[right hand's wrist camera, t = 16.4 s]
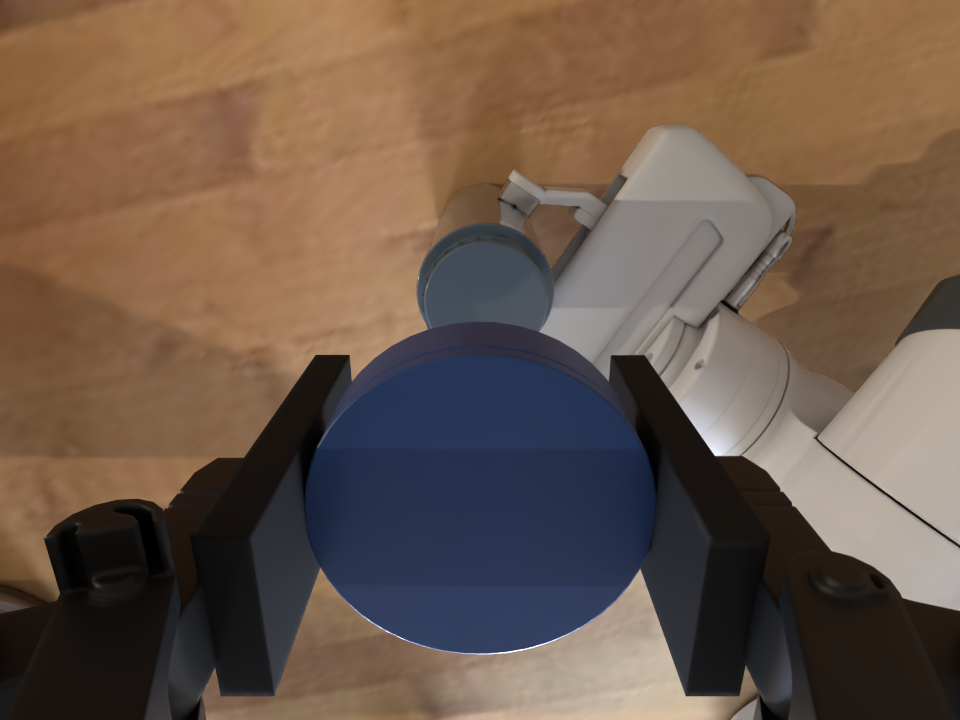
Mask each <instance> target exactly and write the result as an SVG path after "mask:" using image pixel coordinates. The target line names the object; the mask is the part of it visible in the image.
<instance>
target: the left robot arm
mask: <svg viewBox="0 0 960 720" xmlns="http://www.w3.org/2000/svg"><path fill="white" fill-rule="evenodd" d="M498 197H499V198H501V199H502V200H503V201H505V202H506V203H509V204H511V205H516V208H517V209H518V210H519V211H520V212H521V213H523V214H524V215H526V216H527V217H529V216H530V215H531V213H532V212H533V210H534V209H535V207H536V206H537V204H538V203H539V204H548V205H565V206H570V207H569V209H568V213H569V214H570V215H571V216H572V217H573V218H574V219H576V220H577V221H579V222H580V223H581V224H582V226H581V227H580V229H579V230H578V231H577V233H576V234H575V236H574V237H573V239H572V240H571V242H570V243H569V244H568V246H567V247H566V249H565V250H564V252H563V253H562V255H561V256H560V257H559V259H558V260H557V262H556V263H555V265H554V266H553V267H552V269H551V270H552V273H553V278H554V289H555V292H554V301H553V306H552V309H551V312H550V315H549V317H548V319H547V321H546V323H545V325H544V326H543V328H542V329H541V330H540V332H541V333H543V334H546V335H548V336H550V337H553V338H555V339H557V340H559V341H561V342H562V343H564V344H566V345H567V346H569V347H571V348H573V349H574V350H576V351H577V352H578V353H580V354H581V355H582V356H583V357H585V358H586V359H587V360H588V361H590V362H591V363H592V364H593V365H594V366H595V367H596V368H597V369H598V370H599V371H600V372H601V373H602V374H603V375H604V376H605V378H606V379H607V380H608V382H609V373H610V360H611V355H645V356H646V358H647V359H648V361H649V362H650V363H651V365H652V366H653V368H654V369H655V371H656V372H657V373H658V375H659V376H660V378H661V379H662V381H663V382H664V383H665V385H666V386H667V388H668V389H669V391H670V392H671V394H672V395H673V396H674V398H675V399H676V401H677V402H678V404H679V405H680V406H681V408H682V409H683V411H684V412H685V414H686V415H687V416H688V418H689V419H690V421H691V422H692V424H693V425H694V426H695V428H696V429H697V431H698V432H699V434H700V435H701V437H702V438H703V439H704V441H705V442H706V444H707V445H708V447H709V448H710V449H711V451H712V452H713V454H714V455H715V456H744V457H745V458H747V459H748V460H750V461H752V462H753V463H755V464H756V465H758V466H759V467H761V468H763V469H764V470H766V471H767V472H768V474H769V475H770V476H771V477H772V478H773V480H774V481H775V482H776V483H777V485H778V486H779V487H780V491H781V492H784V493H785V494H786V496H787V497H788V498H789V499H790V501H791V502H792V506H795V507H796V508H797V509H798V510H799V512H800V513H801V514H802V515H803V517H804V518H805V519H806V520H807V521H808V523H809V524H810V525H811V526H812V528H813V529H814V530H815V531H816V533H817V534H818V535H819V536H820V537H821V539H822V540H823V541H824V542H825V544H826V545H827V546H828V547H829V548H830V550H831V551H834V552H837V553H841V554H845V555H849V556H852V557H854V558H856V559H859V560H861V561H863V562H865V563H867V564H869V565H871V566H873V567H874V568H876V569H877V570H878V571H880V572H881V573H882V574H884V575H885V576H886V577H888V578H889V579H890V580H891V581H892V583H893V584H894V585H895V587H896V588H897V589H898V591H899V592H900V594H901V596H902V598H905V599H908V600H912V601H916V602H920V603H925V604H930V605H935V606H939V607H944V608H949V609H953V610H958V611H960V274H959V275H956V276H953V277H950V278H946V279H944V280H942V281H940V282H939V283H938V284H937V285H936V287H935V288H934V289H933V291H932V292H931V294H930V295H929V296H928V298H927V299H926V300H925V302H924V303H923V305H922V306H921V307H920V309H919V310H918V312H917V313H916V314H915V316H914V317H913V319H912V320H911V321H910V323H909V324H908V325H907V327H906V328H905V330H904V331H903V332H902V334H901V335H900V337H899V338H898V340H897V341H896V343H895V348H894V349H893V350H892V351H891V353H890V354H889V355H888V356H887V357H886V358H885V360H884V361H883V362H882V363H881V364H880V365H879V366H878V368H877V369H876V370H875V371H874V372H873V373H872V375H871V376H870V377H869V378H868V379H867V380H866V382H865V383H864V384H863V385H862V386H861V387H860V389H859V390H858V391H857V392H856V393H853V392H852V391H851V390H849V389H848V388H846V387H845V386H844V385H842V384H841V383H839V382H838V381H836V380H834V379H832V378H830V377H828V376H826V375H823V374H820V373H816V372H812V371H809V370H807V369H805V368H804V367H803V366H801V365H800V364H799V363H798V362H797V360H796V359H795V357H794V356H793V355H792V354H791V352H790V351H789V350H788V349H787V348H786V347H785V346H784V345H783V344H782V343H780V342H779V341H778V340H776V339H775V338H773V337H772V336H770V335H769V334H767V333H766V332H765V331H763V330H762V329H760V328H759V327H757V326H756V325H754V324H753V323H751V322H750V321H748V320H747V319H745V318H744V317H742V316H741V315H739V314H738V311H739V310H740V308H741V307H742V306H743V305H744V303H745V302H746V301H747V300H748V299H749V297H750V296H751V295H752V294H753V292H754V291H755V290H756V289H757V287H758V286H759V284H760V282H761V281H762V280H763V277H765V275H766V273H767V272H768V271H769V270H770V268H771V267H772V266H773V265H774V264H775V263H776V261H777V262H778V261H779V260H780V259H781V258H782V257H783V256H784V255H785V254H786V252H787V251H788V249H789V248H790V246H791V244H792V242H793V238H792V237H791V236H790V235H791V233H792V231H793V229H794V226H795V222H796V208H795V204H794V202H793V200H792V198H791V197H790V196H789V195H788V193H786V192H785V191H784V190H782V189H781V188H780V187H778V186H777V185H776V184H774V183H773V182H772V181H770V180H769V179H768V178H766V177H764V176H761V175H757V174H744V173H743V172H742V171H741V170H740V169H739V168H738V166H737V165H736V164H735V163H734V162H733V161H732V160H731V159H730V158H729V157H728V156H727V155H726V154H724V153H723V152H722V151H721V150H720V149H719V148H718V147H717V146H716V145H715V144H713V143H712V142H711V141H710V140H709V139H708V138H706V137H705V136H704V135H703V134H701V133H700V132H699V131H698V130H696V129H695V128H693V127H691V126H689V125H686V124H682V123H671V124H665V125H660V126H655V127H652V128H650V129H649V130H648V131H647V132H646V134H645V135H644V136H643V138H642V139H641V141H640V142H639V144H638V145H637V147H636V148H635V149H634V151H633V152H632V154H631V155H630V157H629V158H628V159H627V161H626V162H625V164H624V165H623V167H622V168H621V170H620V171H619V172H618V174H617V175H616V177H615V178H614V180H613V181H612V183H611V184H610V185H609V187H608V188H607V190H606V191H605V193H604V194H603V195H602V197H601V198H600V200H599V199H598V198H596V197H595V196H593V195H592V194H590V193H589V192H587V191H586V190H584V189H583V188H575V187H553V186H544V187H543V188H542V187H540V186H539V185H537V184H536V183H534V182H533V181H531V180H530V179H529V178H527V177H526V176H524V175H523V174H521V173H520V172H518V171H516V170H515V169H513V171H512V172H511V174H510V175H509V177H508V178H507V180H506V182H505V183H504V185H503V187H502V188H501V190H500V192H499V193H498ZM785 223H786V226H785V228H784V230H783V231H782V230H780V229H781V228H782V227H783V225H784V224H785ZM721 300H722V301H721ZM756 703H757V699H755V700H754V701H752V702H750V703H749V704H747V705H746V706H745V707H743V708H742V709H741V710H740V711H739V712H737V713H736V714H735V715H734V716H733V717H732V719H731V720H753V717H754V712H755V708H756Z"/></svg>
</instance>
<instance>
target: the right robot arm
mask: <svg viewBox="0 0 960 720" xmlns="http://www.w3.org/2000/svg"><path fill="white" fill-rule="evenodd" d="M351 383H352V380H351V368H350V355H315V357H314V358H313V360H312V361H311V363H310V364H309V365H308V367H307V368H306V370H305V371H304V373H303V374H302V375H301V377H300V378H299V380H298V381H297V383H296V384H295V385H294V387H293V388H292V390H291V391H290V393H289V394H288V396H287V397H286V398H285V400H284V401H283V403H282V404H281V406H280V407H279V408H278V410H277V411H276V413H275V414H274V416H273V417H272V418H271V420H270V421H269V423H268V424H267V426H266V427H265V429H264V430H263V431H262V433H261V434H260V436H259V437H258V439H257V440H256V441H255V443H254V444H253V446H252V447H251V449H250V450H249V451H248V453H247V454H246V456H245V457H244V458H217V459H216V460H214V461H212V462H211V463H209V464H208V465H206V466H205V467H203V468H201V469H200V470H198V471H197V472H195V473H194V474H193V475H192V477H191V478H190V479H189V480H188V482H187V483H186V484H185V485H184V487H183V488H182V489H181V490H180V491H181V492H180V494H177V495H176V496H175V498H174V499H173V500H172V501H171V503H170V504H169V508H166V509H165V510H164V511H163V509H162V508H160V507H159V506H158V505H157V504H155V503H154V502H151V501H146V500H141V499H126V500H115V501H111V502H106V503H102V504H98V505H94V506H92V507H89V508H87V509H84V510H82V511H80V512H77V513H75V514H73V515H71V516H70V517H68V518H66V519H65V520H63V521H62V522H60V523H59V524H57V525H56V526H55V527H54V528H53V529H52V530H51V531H50V532H49V533H48V535H47V536H46V537H45V538H44V540H45V544H46V547H47V551H48V554H49V557H50V561H51V564H52V568H53V571H54V574H55V578H56V581H57V584H58V588H59V591H60V595H59V597H58V600H57V601H55V602H51V603H48V604H45V603H43V602H41V601H40V600H38V599H36V598H34V597H32V596H29V595H27V594H24V593H22V592H19V591H16V590H13V589H10V588H6V587H2V586H0V720H206V715H205V708H204V703H203V698H202V693H203V691H204V689H205V687H206V685H207V683H208V681H209V679H210V676H211V674H212V672H213V670H214V668H216V673H217V678H218V683H219V688H220V693H221V696H275V693H276V690H277V687H278V685H279V682H280V679H281V676H282V673H283V671H284V668H285V665H286V662H287V659H288V657H289V654H290V651H291V648H292V645H293V643H294V640H295V637H296V634H297V631H298V629H299V626H300V623H301V620H302V617H303V615H304V612H305V609H306V606H307V603H308V600H309V598H310V595H311V592H312V589H313V586H314V584H315V581H316V578H317V575H318V572H319V570H320V566H319V564H318V562H317V559H316V557H315V555H314V552H313V550H312V547H311V545H310V541H309V537H308V530H307V522H306V513H305V504H304V495H305V484H306V479H307V475H308V471H309V466H310V463H311V461H312V458H313V456H314V453H315V451H316V448H317V446H318V444H319V442H320V440H321V438H322V436H323V434H324V432H325V430H326V428H327V426H328V424H329V422H330V420H331V418H332V416H333V414H334V412H335V410H336V408H337V406H338V404H339V402H340V400H341V398H342V397H343V395H344V393H345V392H346V390H347V388H348V387H349V385H350V384H351ZM609 383H610V384H611V386H612V387H613V389H614V390H615V392H616V393H617V395H618V397H619V399H620V401H621V403H622V405H623V407H624V409H625V410H626V412H627V414H628V416H629V418H630V420H631V422H632V424H633V426H634V428H635V430H636V432H637V434H638V436H639V438H640V440H641V442H642V444H643V446H644V448H645V450H646V452H647V455H648V458H649V461H650V464H651V467H652V470H653V473H654V479H655V485H656V491H657V498H656V508H655V517H654V525H653V534H652V540H651V544H650V547H649V550H648V553H647V555H646V557H645V559H644V561H643V563H642V565H641V567H640V569H641V571H642V574H643V577H644V580H645V583H646V585H647V588H648V591H649V594H650V597H651V599H652V602H653V605H654V608H655V611H656V613H657V616H658V619H659V622H660V625H661V627H662V630H663V633H664V636H665V639H666V641H667V644H668V647H669V650H670V653H671V656H672V658H673V661H674V664H675V667H676V670H677V672H678V675H679V678H680V681H681V684H682V686H683V689H684V692H685V695H686V696H739V695H740V690H741V685H742V680H743V675H744V670H745V665H746V666H747V668H748V670H749V672H750V675H751V677H752V679H753V681H754V683H755V685H756V687H757V689H758V691H759V693H758V698H757V703H756V708H755V712H754V717H753V720H960V611H958V610H953V609H949V608H944V607H939V606H935V605H930V604H925V603H920V602H916V601H912V600H908V599H905V598H902V596H901V594H900V592H899V591H898V589H897V588H896V587H895V585H894V584H893V583H892V581H891V580H890V579H889V578H888V577H886V576H885V575H884V574H882V573H881V572H880V571H878V570H877V569H876V568H874V567H873V566H871V565H869V564H867V563H865V562H863V561H861V560H859V559H856V558H854V557H852V556H849V555H845V554H841V553H837V552H834V551H831V550H830V548H829V547H828V546H827V545H826V544H825V542H824V541H823V540H822V539H821V537H820V536H819V535H818V534H817V533H816V531H815V530H814V529H813V528H812V526H811V525H810V524H809V523H808V521H807V520H806V519H805V518H804V517H803V515H802V514H801V513H800V512H799V510H798V509H797V508H796V507H795V506H792V502H791V501H790V499H789V498H788V497H787V496H786V494H785V493H784V492H781V491H780V487H779V486H778V485H777V483H776V482H775V481H774V480H773V478H772V477H771V476H770V475H769V474H768V472H767V471H766V470H764V469H763V468H761V467H759V466H758V465H756V464H755V463H753V462H752V461H750V460H748V459H747V458H745V457H744V456H715V455H714V454H713V452H712V451H711V449H710V448H709V447H708V445H707V444H706V442H705V441H704V439H703V438H702V437H701V435H700V434H699V432H698V431H697V429H696V428H695V426H694V425H693V424H692V422H691V421H690V419H689V418H688V416H687V415H686V414H685V412H684V411H683V409H682V408H681V406H680V405H679V404H678V402H677V401H676V399H675V398H674V396H673V395H672V394H671V392H670V391H669V389H668V388H667V386H666V385H665V383H664V382H663V381H662V379H661V378H660V376H659V375H658V373H657V372H656V371H655V369H654V368H653V366H652V365H651V363H650V362H649V361H648V359H647V358H646V356H645V355H611V360H610V373H609Z"/></svg>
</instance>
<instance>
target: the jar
mask: <svg viewBox="0 0 960 720" xmlns="http://www.w3.org/2000/svg"><path fill="white" fill-rule="evenodd" d="M500 190H501V187H499V186H496V185H491V184H476V185H472V186H469V187H467V188H464V189H463V190H461V191H459V192H458V193H457V194H455V195H454V196H453V197H452V198H451V200H450V201H449V202H448V204H447V205H446V207H445V209H444V211H443V214H442V216H441V219H440V221H439V224H438V226H437V228H436V231H435V233H434V236H433V238H432V241H431V243H430V246H429V248H428V251H427V253H426V256H425V258H424V260H423V263H422V265H421V268H420V271H419V275H418V280H417V300H418V305H419V309H420V312H421V315H422V317H423V319H424V321H425V323H426V325H427V328H428V330H429V329H432V328H436V327H441V326H445V325H449V324H456V323H466V322H498V323H504V324H511V325H517V326H521V327H525V328H528V329H532V330H535V331H539V332H540V330H541V329H542V328H543V326H544V325H545V323H546V321H547V319H548V317H549V315H550V312H551V309H552V306H553V301H554V292H555V289H554V278H553V273H552V270H551V267H550V264H549V262H548V260H547V258H546V256H545V254H544V252H543V250H542V247H541V245H540V243H539V241H538V239H537V237H536V235H535V233H534V230H533V228H532V226H531V224H530V222H529V220H528V218H527V216H526V215H524V214H523V213H521V212H520V211H519V210H518V209H517V208H516V205H511V204H509V203H506V202H505V201H503V200H502V199H501V198H499V197H498V193H499V192H500Z"/></svg>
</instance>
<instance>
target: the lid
mask: <svg viewBox="0 0 960 720" xmlns="http://www.w3.org/2000/svg"><path fill="white" fill-rule="evenodd" d="M656 498H657V491H656V485H655V479H654V473H653V470H652V467H651V464H650V461H649V458H648V455H647V452H646V450H645V448H644V446H643V444H642V442H641V440H640V438H639V436H638V434H637V432H636V430H635V428H634V426H633V424H632V422H631V420H630V418H629V416H628V414H627V412H626V410H625V409H624V407H623V405H622V403H621V401H620V399H619V397H618V395H617V393H616V392H615V390H614V389H613V387H612V386H611V384H610V383H609V382H608V380H607V379H606V378H605V376H604V375H603V374H602V373H601V372H600V371H599V370H598V369H597V368H596V367H595V366H594V365H593V364H592V363H591V362H590V361H588V360H587V359H586V358H585V357H583V356H582V355H581V354H580V353H578V352H577V351H576V350H574V349H573V348H571V347H569V346H567V345H566V344H564V343H562V342H561V341H559V340H557V339H555V338H553V337H550V336H548V335H546V334H543V333H541V332H539V331H535V330H532V329H528V328H525V327H521V326H517V325H511V324H504V323H498V322H466V323H456V324H449V325H445V326H441V327H436V328H432V329H429V330H426V331H423V332H421V333H418V334H415V335H413V336H410V337H408V338H406V339H404V340H402V341H401V342H399V343H397V344H395V345H393V346H391V347H390V348H388V349H387V350H386V351H384V352H383V353H381V354H380V355H379V356H377V357H376V358H375V359H373V360H372V361H371V362H370V363H369V364H368V365H367V366H366V367H365V368H364V369H363V370H362V371H361V372H360V373H359V374H358V375H357V377H356V378H355V379H354V380H353V382H352V383H351V384H350V385H349V387H348V388H347V390H346V392H345V393H344V395H343V397H342V398H341V400H340V402H339V404H338V406H337V408H336V410H335V412H334V414H333V416H332V418H331V420H330V422H329V424H328V426H327V428H326V430H325V432H324V434H323V436H322V438H321V440H320V442H319V444H318V446H317V448H316V451H315V453H314V456H313V458H312V461H311V463H310V466H309V471H308V475H307V479H306V484H305V495H304V504H305V513H306V522H307V530H308V537H309V541H310V545H311V547H312V550H313V552H314V555H315V557H316V559H317V562H318V564H319V566H320V567H321V569H322V571H323V572H324V574H325V576H326V578H327V579H328V581H329V582H330V583H331V584H332V586H333V587H334V588H335V590H336V591H337V592H338V593H339V595H340V596H341V597H342V598H343V599H344V600H345V601H346V602H347V603H348V604H349V605H350V606H351V607H352V608H353V609H355V610H356V611H357V612H358V613H360V614H361V615H362V616H364V617H365V618H366V619H367V620H369V621H370V622H372V623H373V624H375V625H377V626H378V627H380V628H382V629H383V630H385V631H387V632H389V633H391V634H393V635H395V636H397V637H400V638H402V639H404V640H406V641H409V642H412V643H415V644H418V645H421V646H424V647H428V648H432V649H437V650H441V651H446V652H454V653H462V654H497V653H508V652H514V651H519V650H525V649H529V648H533V647H536V646H540V645H543V644H546V643H549V642H552V641H554V640H556V639H559V638H561V637H564V636H566V635H568V634H570V633H572V632H574V631H576V630H577V629H579V628H581V627H583V626H585V625H586V624H588V623H589V622H590V621H592V620H593V619H595V618H596V617H597V616H599V615H600V614H602V613H603V612H604V611H605V610H606V609H607V608H608V607H609V606H610V605H612V604H613V603H614V602H615V601H616V600H617V599H618V598H619V596H620V595H621V594H622V593H623V592H624V591H625V590H626V588H627V587H628V586H629V585H630V583H631V582H632V580H633V579H634V577H635V576H636V574H637V573H638V571H639V569H640V567H641V565H642V563H643V561H644V559H645V557H646V555H647V553H648V550H649V547H650V544H651V540H652V534H653V525H654V517H655V508H656Z"/></svg>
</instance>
